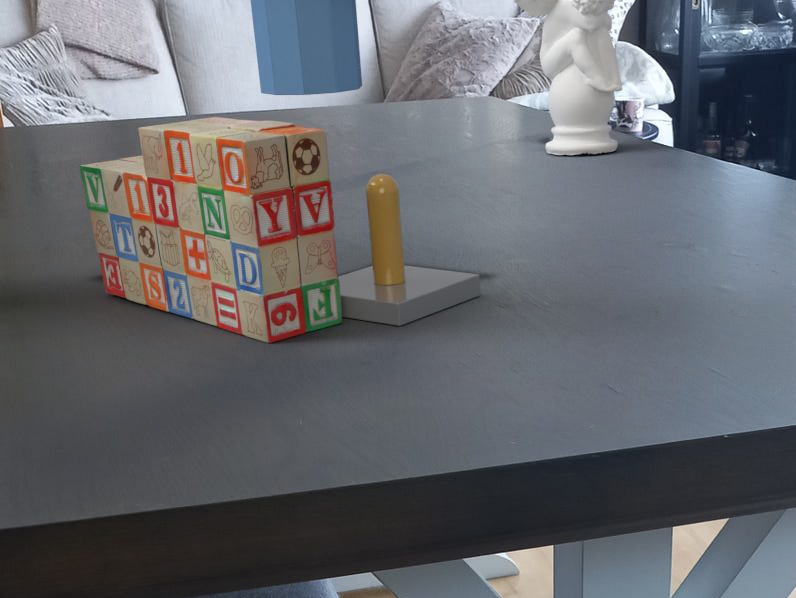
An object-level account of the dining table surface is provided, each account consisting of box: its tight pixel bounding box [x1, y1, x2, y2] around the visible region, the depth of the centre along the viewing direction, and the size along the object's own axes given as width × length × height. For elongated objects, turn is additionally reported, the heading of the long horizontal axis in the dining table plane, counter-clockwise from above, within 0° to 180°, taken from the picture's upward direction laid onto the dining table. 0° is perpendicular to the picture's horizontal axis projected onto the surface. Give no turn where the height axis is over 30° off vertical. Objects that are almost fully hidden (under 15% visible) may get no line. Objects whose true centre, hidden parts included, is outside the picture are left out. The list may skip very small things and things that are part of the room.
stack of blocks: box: [79, 116, 343, 344], centre depth 83 cm, size 21×6×12 cm, turn 44°
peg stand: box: [337, 173, 481, 327], centre depth 83 cm, size 9×9×9 cm
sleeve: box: [250, 0, 363, 96], centre depth 67 cm, size 6×6×9 cm
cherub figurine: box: [513, 0, 623, 156], centre depth 140 cm, size 12×12×22 cm
